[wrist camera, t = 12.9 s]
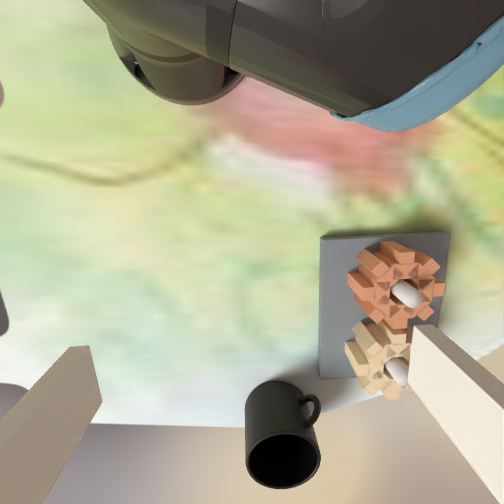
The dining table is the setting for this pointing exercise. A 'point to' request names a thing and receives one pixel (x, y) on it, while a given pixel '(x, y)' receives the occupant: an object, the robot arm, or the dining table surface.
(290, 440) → the mug
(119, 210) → the dining table surface
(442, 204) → the dining table surface
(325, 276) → the gear board
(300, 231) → the dining table surface
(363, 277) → the gear
